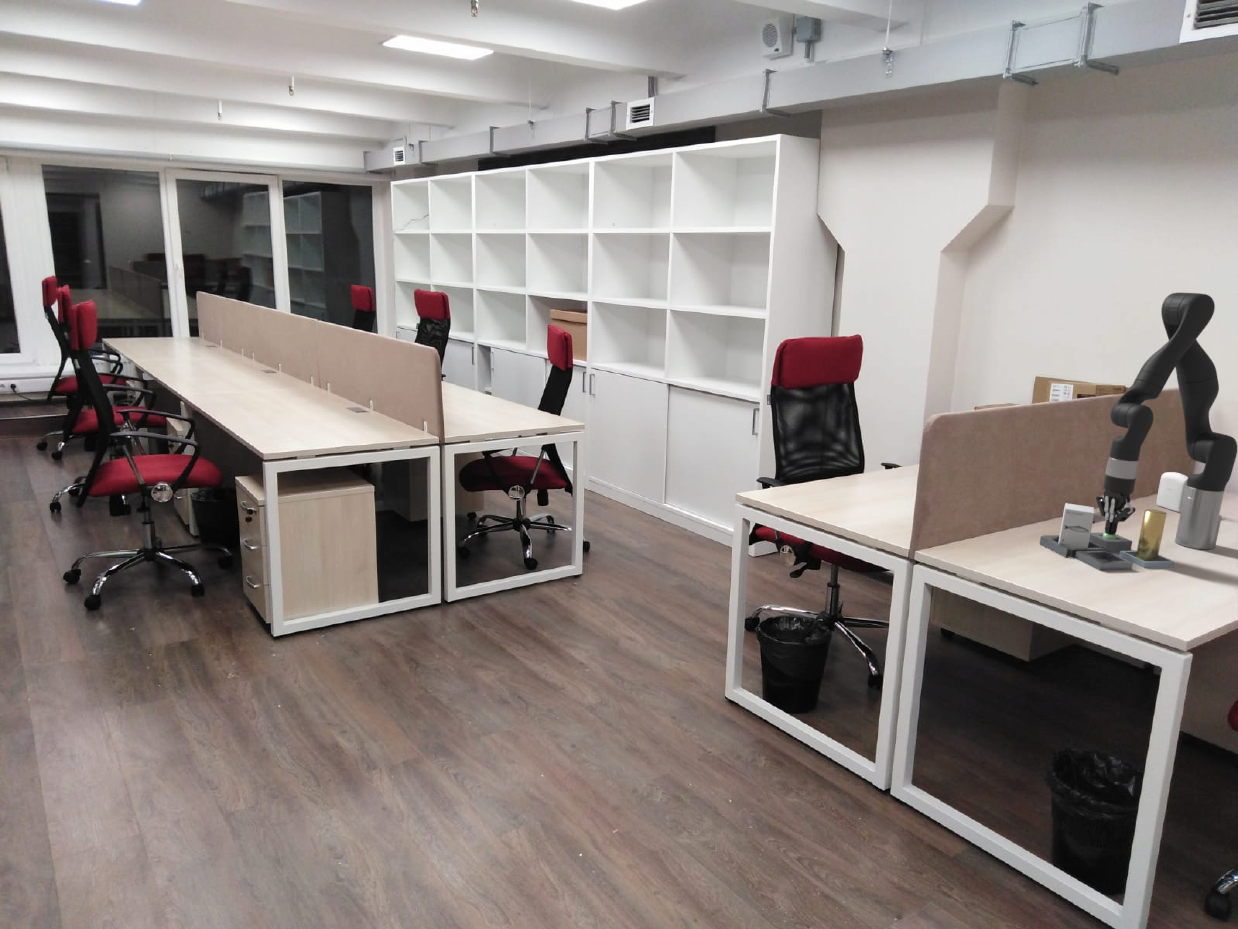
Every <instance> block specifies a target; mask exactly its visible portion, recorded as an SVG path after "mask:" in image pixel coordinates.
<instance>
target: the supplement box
mask: <svg viewBox="0 0 1238 929" xmlns="http://www.w3.org/2000/svg"><path fill="white" fill-rule="evenodd" d="M1062 514H1063V516H1062V519H1061V524H1060V530H1059V535H1060V536H1059V541H1058V543H1060V544H1062V545H1064V546H1066V547H1068V548H1088V545H1089V539H1090V533H1092V528H1093V521H1094V517H1095V507H1093V506H1087V505H1081V504H1073V503H1068V502H1065V504H1064V508H1063V513H1062Z"/></svg>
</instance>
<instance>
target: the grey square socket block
mask: <svg viewBox="0 0 1238 929" xmlns="http://www.w3.org/2000/svg"><path fill="white" fill-rule="evenodd" d="M1089 540H1090V541H1093V542H1095V543H1097V544H1099V545H1101V546H1103V547H1106V548H1107V551H1109V552H1111V553H1120V551H1132V545H1133V540H1131V539H1128V538H1125V537H1124V536H1121V535H1119V534H1117V538H1116V539H1106V538H1104V537H1103V532H1091V533H1090V539H1089Z"/></svg>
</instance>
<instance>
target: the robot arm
mask: <svg viewBox="0 0 1238 929" xmlns="http://www.w3.org/2000/svg"><path fill="white" fill-rule="evenodd" d="M1215 309H1216V305H1215V301H1214V299H1213V298H1212V296H1210V295H1209V294H1207V293H1200V292H1199V293H1197V292H1173V293H1170V294H1169V295H1167V296H1166V297H1165V298H1164V301H1163V302H1162V305H1161V318H1162V324H1163V326H1164V329H1165V330H1164V331H1165V333H1166V335H1167V338H1168V341H1167V342H1166V343H1165V344H1164V345H1163V346H1161V347H1160V348H1159V349H1158V350H1157V351H1155V352H1154V353H1153V354H1151V356H1149V358H1148V359H1147V360H1146V361H1145V362H1144V364H1143V365H1142V366H1141V368H1140V370H1139V372H1138V374H1137V375H1136V378H1135V379H1134V381H1133V383H1132V385H1130V387H1129V388H1128V389H1127V390H1126V391H1125V392H1124V393H1123V394H1122V395H1121V396H1120V397H1119V398H1118V400H1117V401H1116V402H1115V403H1114V405H1113V406H1112V408H1111V411H1110V419H1111V421H1110V422H1112V424H1114V425H1115V426H1116V427H1121V428H1124V429H1127V432H1126V433H1125V434H1124V435H1119V436H1115V437H1113V439H1112V442H1111V444H1110V446H1111V447H1110V451H1109V457H1108V461H1107V463H1106V468H1105V475H1104V479H1103V485H1102V488H1103V490H1104V491H1103V493H1102V494H1101V495H1100V496H1096V498H1095V500H1096V502H1097V503H1096V504H1097V506H1098V509H1099V513H1100V515H1101V517H1104V520H1106V521H1105V525H1104V532H1105V533H1107V534H1109V535H1114V534H1117V530H1118V524H1119V523H1122V522H1124V523H1125V522H1126V521H1127V520H1128V519H1129V518H1130V517H1131V516H1132V515H1133V514H1134V513H1135V512H1136V507H1133V506H1131V504H1130V503H1131V494H1133V493H1134V491H1135V486H1136V480H1137V475H1138V470H1139V458H1140V454H1141V448H1142V445H1143V444H1144V442H1145V440H1146V438H1147V435H1148V434H1149V432H1150V430H1151V428H1152V425H1153V423H1154V412H1153V411H1152V409H1151V408H1150V407H1149V406H1148V405H1145V404H1142V403H1144V402H1146V401H1148V400H1156V399H1157V398H1159V396H1160V395H1161V393H1162V391H1163V390H1164V387H1165V386H1166V384H1167V383H1168V380H1169V378H1170V377H1171V375H1172V373H1173V372H1174V370H1175V373H1176V379H1177V380H1176V381H1177V384H1178V390H1179V396H1180V399H1181V400H1180V401H1181V404H1182V411H1183V412H1182V413H1183V420H1184V432H1185V434H1184V435H1185V446H1186V452H1187V454H1188V457H1189V458H1191V459H1192V460H1193V461H1195V462H1198V463H1201V464H1204V468H1203V470H1202V472H1200V473H1195V474H1190V475H1188V476H1187V477H1188V479H1187V483H1186V488H1185V493H1184V498H1183V503H1182V508H1181V513H1180V512H1179V513H1180V515H1179V520H1178V525H1177V528H1176V529H1177V530H1176V534H1175V538H1174V543H1176V544H1178V545H1180V546H1184V547H1187V548H1191V549H1198V550H1211V549H1213V548H1216V547H1217V542H1218V541H1217V540H1218V536H1219V533H1220V532H1219V531H1220V527H1221V522H1222V518H1223V516H1222V515H1221V513H1220V512H1221V507H1222V504H1223V499H1224V494H1225V489H1226V486H1227V484H1228V482H1229V481H1230V480H1231V479H1230V478H1232V477H1231V476H1232V473H1233V469H1234V466H1235V462H1236V458H1237V455H1238V443H1237V440H1236V439H1235V438H1234V437H1233V436H1231V435H1228V434H1223V433H1220V432H1215V431H1213V429H1212V427H1211V423H1210V410H1211V408H1212V406H1213V404H1214V402H1215V400H1216V399H1217V397H1218V395H1219V394H1218V393H1219V391H1220V385H1219V380H1218V373H1217V369H1216V365H1215V363H1214V362H1213V360H1212V358H1211V357H1210V356H1209V355H1208V353H1207V352H1206V351H1205V350H1204V348H1203V347H1202V345H1201V344H1200V343H1199V341H1198V339H1197V338H1198V337H1199V336H1200V335H1201V333H1202V332H1203V331H1204V330H1205V328H1206V327H1207V326H1208V324H1209V323H1210V321H1211V319H1212V318H1213V316H1214V313H1215Z"/></svg>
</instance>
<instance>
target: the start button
mask: <svg viewBox="0 0 1238 929" xmlns="http://www.w3.org/2000/svg"><path fill="white" fill-rule="evenodd" d="M1102 533H1103V537H1104V538H1106V539H1116V538H1117V535H1118V534H1117V533H1115V534H1114V535H1109V534H1107V533H1105V531H1103V532H1102Z"/></svg>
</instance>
